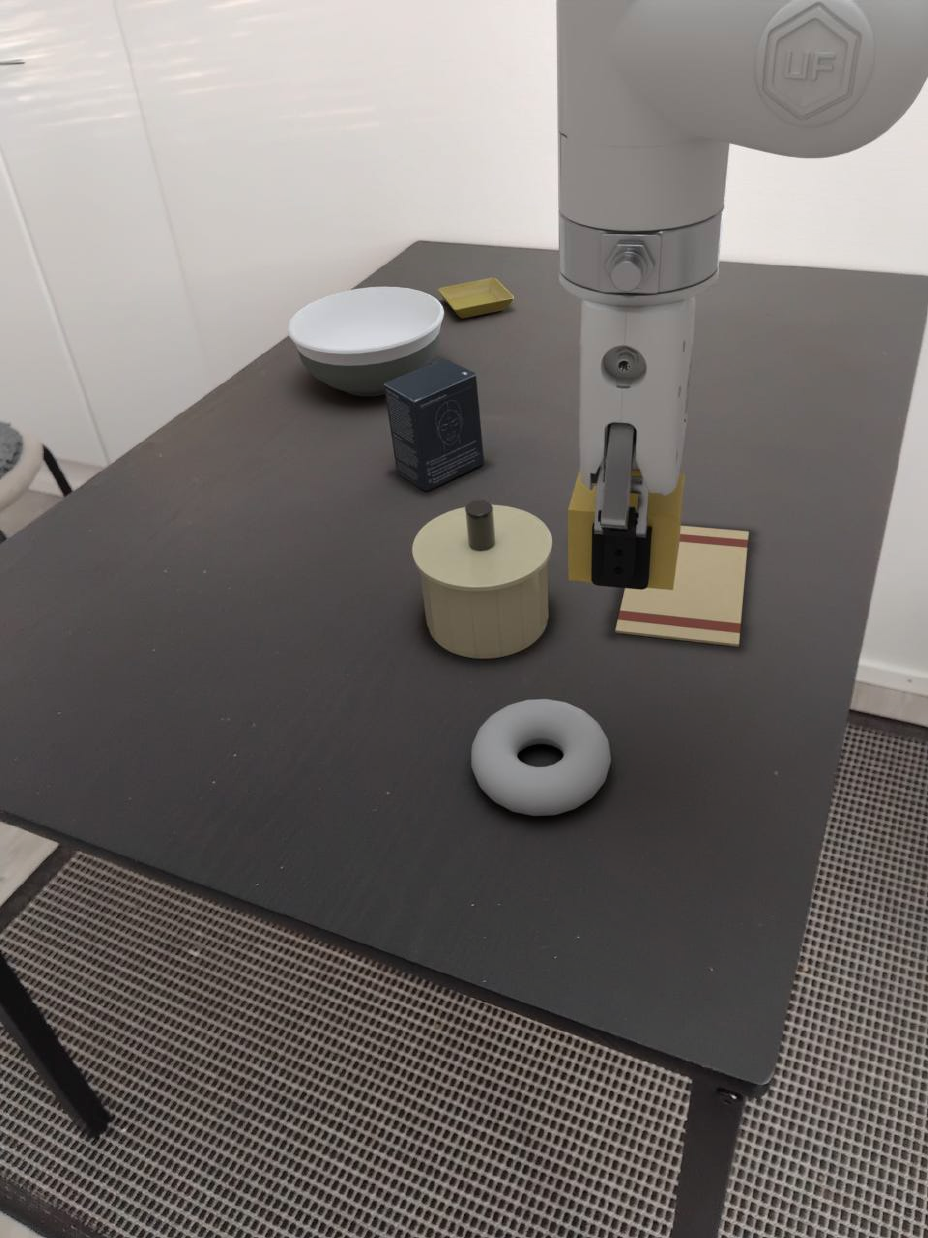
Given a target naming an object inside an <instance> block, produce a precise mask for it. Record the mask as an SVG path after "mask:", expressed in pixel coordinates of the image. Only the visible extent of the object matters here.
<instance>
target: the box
mask: <svg viewBox="0 0 928 1238" xmlns="http://www.w3.org/2000/svg"><path fill="white" fill-rule="evenodd" d="M384 389H385V394H384V395H385V401H386V407H387V408H386V409H387V415H388V422H389V428H390V429H389V430H390V435H391V440H392V441H391V442H392V448H393V456H394V461H395V462H394V463H395V469H396V472H397V473H398V474H399V475H401V476H402V477H403V478H405V479H406V480H408V481H409V482H411V483H412V484H414V485H415V486H417V487H419V488H420V489H421V490H423V491H424V492H428V491H431V490H433V489H435V488H436V487H439V486H442V485H443V484H445V483H447V482H449V481H451V480H453V479H456V478H457V477H459V476H461V475H463V474H466V473H468V472H470V471H472V470H474V469H476V468H478V467H480V466H482V465H484V464H485V457H484V447H483V445H484V444H483V436H482V425H481V412H480V402H479V392H478V391H479V390H478V382H477V374H476V372H474V371H472V370H470V369H468V368H466V367H464V366H462V365H460V364H458V363H456V362H454V361H453V360H450V359H448V358H446V357H443V358H441V359H439V360H436V361H434V362H431V363H430V364H429V365H427V366H424V367H422V368H420V369H417V370H415V371H412V372H410V373H408V374H405V375H403V376H400V377H398V378H396V379H393V380H391V381H388V382H386V383H384Z"/></svg>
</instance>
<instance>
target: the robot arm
mask: <svg viewBox="0 0 928 1238" xmlns="http://www.w3.org/2000/svg"><path fill="white" fill-rule="evenodd" d="M555 1H556V2H555V3H556V4H555V5H556V7H555V8H556V9H555V11H556V13H555V15H556V19H555V21H556V108H557V109H556V113H557V116H556V117H557V119H556V121H557V123H556V124H557V127H556V128H557V207H558V211H557V213H558V215H557V216H558V217H557V218H558V224H557V225H558V281H559V284H560V286H561V287H562V288H563V289H564V290H565V291H566V292H567V293H569V294H570V295H572V296H574V297H576V298H578V299H580V301H581V302H580V332H579V333H580V335H579V336H580V337H579V338H580V339H579V378H578V379H579V382H578V383H579V386H578V391H579V392H578V421H579V422H578V425H579V426H578V444H579V445H578V446H579V447H578V449H579V471H580V473H581V481H582V482H583V484H584V485H585V486H586V487H587V488H588V489H590V490H592V489H593V487H594V486H596V501H595V521H594V522H593V526H592V561H591V581H592V583H591V584H593V585H595V586H597V587H606V588H607V587H608V588H609V587H610V588H617V589H618V588H620V589H625V588H628V589H639V590H643V589H646V588H647V587H648V582H649V571H650V555H651V539H652V527H647V522H648V509H649V496H650V493H661V494H662V495H663V496H667V495H669V494H670V493H671V492H672V491H674V489H675V488H676V487H677V483H678V478H679V473H680V471H681V467H682V466H681V465H682V458H683V452H684V445H685V440H686V439H685V438H686V432H687V424H688V414H689V413H688V412H689V411H688V410H689V396H690V386H691V385H690V384H691V372H692V361H693V349H694V336H695V334H694V333H695V315H696V297H697V296H700V295H702V294H703V293H705V292H706V291H708V290H709V289H710V288H712V287H713V286H715V284H716V282H717V281H718V278H719V271H720V270H719V268H720V256H721V245H722V237H723V236H722V235H723V226H724V215H725V202H726V196H727V195H726V194H727V184H728V177H729V176H728V174H729V164H730V154H731V145H735V146H738V147H743V148H747V149H750V150H754V151H759V152H762V153H767V154H773V155H777V156H782V157H786V158H788V157H789V158H795V159H828V158H832V157H838V156H841V155H846V154H850V153H851V152H854V151H857V150H859V149H861V148H863V147H865V146H867V145H869V144H871V143H872V142H874V141H876V140H878V139H879V138H880V137H882V136H883V135H884V134H886V133H887V132H889V130H891V129H892V127H894V126H895V125H896V124H897V122H899V120H900V119H902V117H903V116H905V114H906V113H907V112H908V110H910V108H911V107H912V105H913V104H914V103H915V101H916V100H917V98H918V96H919V94H921V91H922V90H923V88H924V85H925V83H926V82H927V80H928V0H555ZM632 470H635V471H640V472H641V474H642V476H632ZM630 493H637V494H638V507H637V512H636V508H635V507H630V505H629V499H630Z"/></svg>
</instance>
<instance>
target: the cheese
mask: <svg viewBox="0 0 928 1238" xmlns="http://www.w3.org/2000/svg"><path fill="white" fill-rule="evenodd" d="M577 474H578V475H577V478H576V480H575V481H576V482H575V485H574V488H573V492H572V495H571V498H570V502H569V505H568V509H567V537H568V538H567V548H568V549H567V555H568V556H567V559H568V560H567V561H568V562H567V564H568V566H567V569H568V571H567V575H568V576H567V578H568V582H569V581H571V582H580V583H591V584H593V583H592V581H591V561H592V526H593V522H594V521H595V501H596V486H594V487H593V489H592V490H590V489H588V488H587V487H586V486H585V485H584V484H583V482H582V481H581V473H580V470H579V471H578V473H577ZM632 476H642V474H641V472H640V471H635V470H632ZM685 480H686V474H685V473H680V472H679V478H678V483H677V487H676V488H675V489H674V491H672V492H671V493H670V494H669V495H667V496H663V495H662V494H661V493H650V496H649V509H648V522H647V527H652V539H651V555H650V571H649V582H648V587H647V588H655V589H665V590H673V586H674V579H675V572H676V564H677V557H678V550H679V541H680V530H681V526H682V519H683V505H684V496H685V495H684V494H685V493H684V492H685ZM629 505H630V507H635V508H636V512H637V507H638V494H637V493H630V499H629Z"/></svg>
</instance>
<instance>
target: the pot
mask: <svg viewBox="0 0 928 1238" xmlns="http://www.w3.org/2000/svg"><path fill="white" fill-rule="evenodd" d="M419 576H420V583H421V590H422V597H423V605H424V613H425V620H426V626H427V627H428V631H429V633H430V635H431V638H433V640H434V641H435V642H436V644H438V646H440V647H442V648H443V649H445V650H446V651H448V652H449V653H452V654H454V655H457V656H461V657H464V658H470V659H481V660H482V659H483V660H485V659H486V660H487V659H488V660H489V659H497V658H503V657H508V656H510V655H514V654H516V653H519V652H521V651H524V650H525V649H527V648H528V647H530V646H532V645H533V644H535V643H536V642H537V640H539V639H540V637H541V636H542V635H543V634H544V632H545V631H546V628H547V625H548V621H549V618H550V617H549V615H550V613H549V612H550V611H549V581H548V580H549V579H548V578H549V577H548V562H547V563H546V565H545V566H544V567H543V568H542V569H541V570H540V571H539V572H538V573H536V574H535V575H534V576H532V577H531V578H529V579H527V580H525V581H523V582H521V583H519V584H516V585H514V586H511V587H507V588H503V589H499V590H493V591H484V592H470V591H460V590H454V589H450V588H446V587H443V586H441V585H438V584H436V583H434V582H432V581H430V580H429V579H427V578H426V577H425V576H424V575H423V574H421V572H420V571H419Z"/></svg>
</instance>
